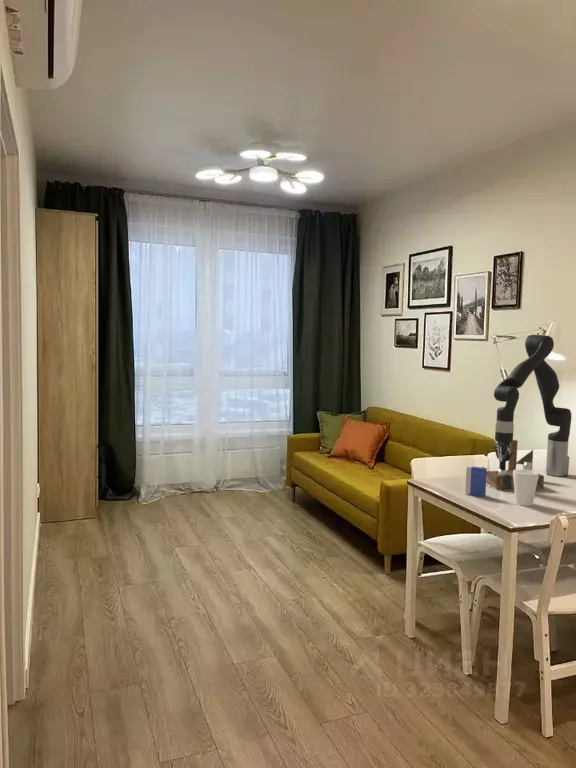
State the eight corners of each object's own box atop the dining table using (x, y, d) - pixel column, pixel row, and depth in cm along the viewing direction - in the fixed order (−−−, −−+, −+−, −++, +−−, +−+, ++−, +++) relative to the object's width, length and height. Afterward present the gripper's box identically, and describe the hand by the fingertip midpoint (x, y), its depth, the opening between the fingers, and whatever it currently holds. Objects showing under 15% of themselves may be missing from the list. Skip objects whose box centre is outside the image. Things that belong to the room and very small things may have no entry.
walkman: (485, 495, 247) (486, 467, 246) (484, 496, 244) (485, 468, 244) (466, 492, 251) (467, 464, 250) (465, 494, 248) (466, 466, 247)
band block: (531, 483, 269) (532, 471, 269) (543, 489, 259) (544, 476, 259) (485, 484, 267) (486, 471, 266) (495, 489, 257) (496, 476, 256)
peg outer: (503, 481, 264) (503, 468, 264) (506, 483, 261) (507, 470, 260) (496, 481, 264) (497, 468, 263) (499, 483, 260) (500, 470, 260)
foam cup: (530, 500, 240) (532, 469, 239) (540, 507, 231) (542, 474, 230) (507, 500, 240) (509, 469, 239) (517, 506, 230) (518, 474, 229)
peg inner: (528, 474, 265) (529, 461, 265) (532, 476, 262) (533, 463, 262) (522, 474, 265) (522, 461, 264) (525, 476, 262) (526, 463, 261)
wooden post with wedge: (530, 480, 276) (532, 442, 275) (506, 477, 281) (508, 440, 280) (531, 479, 279) (533, 441, 278) (507, 476, 284) (509, 439, 283)
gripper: (519, 433, 254) (517, 472, 256) (505, 428, 268) (503, 466, 269) (503, 433, 253) (501, 472, 255) (489, 428, 267) (487, 466, 268)
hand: (502, 469), depth 262 cm, fingers closed
